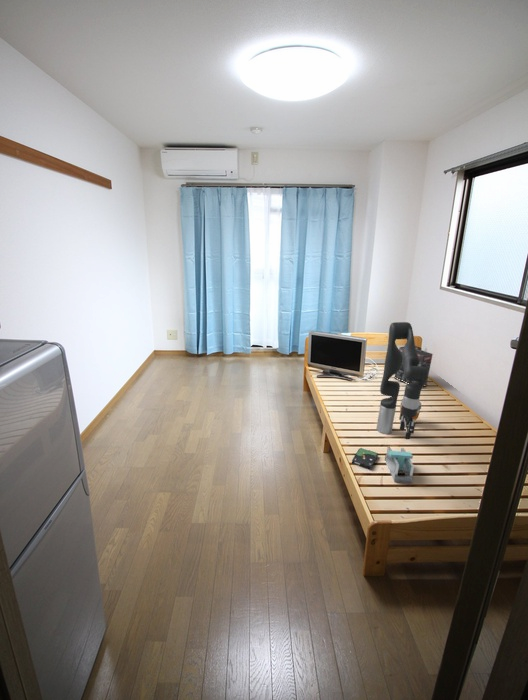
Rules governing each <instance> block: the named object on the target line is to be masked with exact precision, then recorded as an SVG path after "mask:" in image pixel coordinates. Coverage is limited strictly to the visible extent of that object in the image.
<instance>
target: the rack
mask: <svg viewBox="0 0 528 700" xmlns="http://www.w3.org/2000/svg"><path fill="white" fill-rule="evenodd" d="M389 451H393V450H392V448H391V446H387V449H386V455H385V456H384V462H385V461H386V462H385V464H386V466H387V469H388V471H389V470H390V471H389V473H390V476H391V477H392V479H393V482H394V483H401V482H402V483H401V484H413V481H414V480H413V479H414V478H413V474H414V469H415V465H414V463H413V462H412V459H408V458H405V460H404V465H403V470H402V471H404V472H403V474H404V473H405V474H404V475H398V473H399V470H398V469H399V464H398V462H397V460H396V458H395V457H390V455H389ZM400 452H407V451H406V450H405V448H404V447H401V449H400Z"/></svg>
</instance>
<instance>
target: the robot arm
mask: <svg viewBox="0 0 528 700" xmlns="http://www.w3.org/2000/svg"><path fill="white" fill-rule="evenodd" d="M396 340H406V343H405V344H404V345H403V347H404V348H403V350H402V354H401V352H400V351H399V348H398V345H397V344H396ZM387 342H388V343H387V350H386V354H385V359H384V366H383V368H384V369H383V374H382V378H381V379H382V380H381V383H380V387H379V388H380V389H379V392H380V395H383V396H387V397H385V398H382V399H381V400H380V404H379V411H378V417H377V423H376V431H377V432H379V433H381V434H387V435H389V434H391V433H392V431H393V427H394V420H395V414H396V407H397V404H398V403H397V402H398V397H399V393H400V388H401V385H400V384H401V383H399V382H397V381H394V380H390V379H391V377H392V376H395V373H397V372H398V371H399V370H400V368H401V366H402V361H403V360H404V366H405V368H404V377H405V378H406V379H407V380H409V381H415V382H414V383H411V384H406V385H405V388H404V393H403V398H402V399H403V400H402V399H401V401H402V405H401V404H400V407H401V413H400V412H399V420H400V421H399V423H400V425H399V430H400V431H405V436H404V438H405V440H411V436H412V434H414V432H415V428H416V422H413V417H415V416H416V415H417V411H418V406H419V402H420V397H421V392H422V390H423V388H424V387H423V386H424V384H425V382H426V380H427V378H428V379H429V375H428V370H427V368H426V367H422V366H418V365H419V363H420V360H419V357H418V354H417V352H416V348H415V346H416V343H415V335H414V331H413V326H412V324H411V323H410V322H408V321H406V322H405V321H403V322H401V321H400V322H398V321H397V322H391V323H390V324H389V330H388V340H387ZM427 381H428V380H427ZM401 417H402V418H401ZM408 425H409V426H408Z"/></svg>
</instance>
